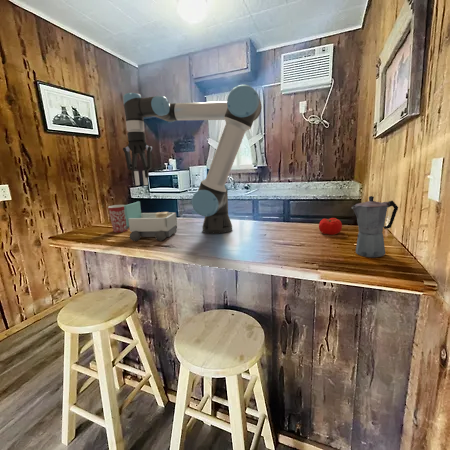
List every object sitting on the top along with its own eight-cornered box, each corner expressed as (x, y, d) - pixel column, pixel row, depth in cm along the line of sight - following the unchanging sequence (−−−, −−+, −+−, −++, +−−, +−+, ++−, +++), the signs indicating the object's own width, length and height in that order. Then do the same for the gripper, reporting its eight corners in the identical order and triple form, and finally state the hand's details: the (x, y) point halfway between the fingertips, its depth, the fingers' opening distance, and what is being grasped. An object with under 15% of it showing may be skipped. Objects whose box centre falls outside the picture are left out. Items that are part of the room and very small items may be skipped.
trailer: (178, 230, 132) (177, 211, 130) (166, 241, 114) (164, 219, 112) (145, 231, 134) (143, 212, 132) (128, 241, 116) (125, 219, 114)
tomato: (318, 235, 113) (318, 221, 112) (319, 229, 123) (319, 216, 122) (342, 237, 110) (343, 222, 108) (341, 230, 120) (342, 217, 118)
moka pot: (341, 250, 93) (345, 195, 88) (382, 247, 94) (387, 193, 90) (357, 259, 84) (362, 198, 79) (401, 256, 85) (409, 196, 80)
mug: (119, 233, 131) (115, 207, 128) (107, 232, 136) (104, 207, 132) (138, 228, 142) (135, 204, 139) (127, 226, 146) (124, 203, 143)
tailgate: (143, 221, 132) (141, 201, 130) (127, 229, 116) (124, 206, 114) (141, 221, 132) (138, 201, 130) (125, 229, 116) (122, 206, 114)
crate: (168, 221, 126) (168, 211, 125) (167, 224, 121) (166, 213, 120) (158, 222, 126) (157, 212, 124) (156, 224, 121) (155, 214, 120)
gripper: (156, 132, 117) (161, 183, 122) (122, 134, 119) (129, 185, 124) (150, 129, 109) (155, 185, 115) (114, 132, 111) (121, 186, 117)
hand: (141, 184), depth 119 cm, fingers open, 3 cm apart
